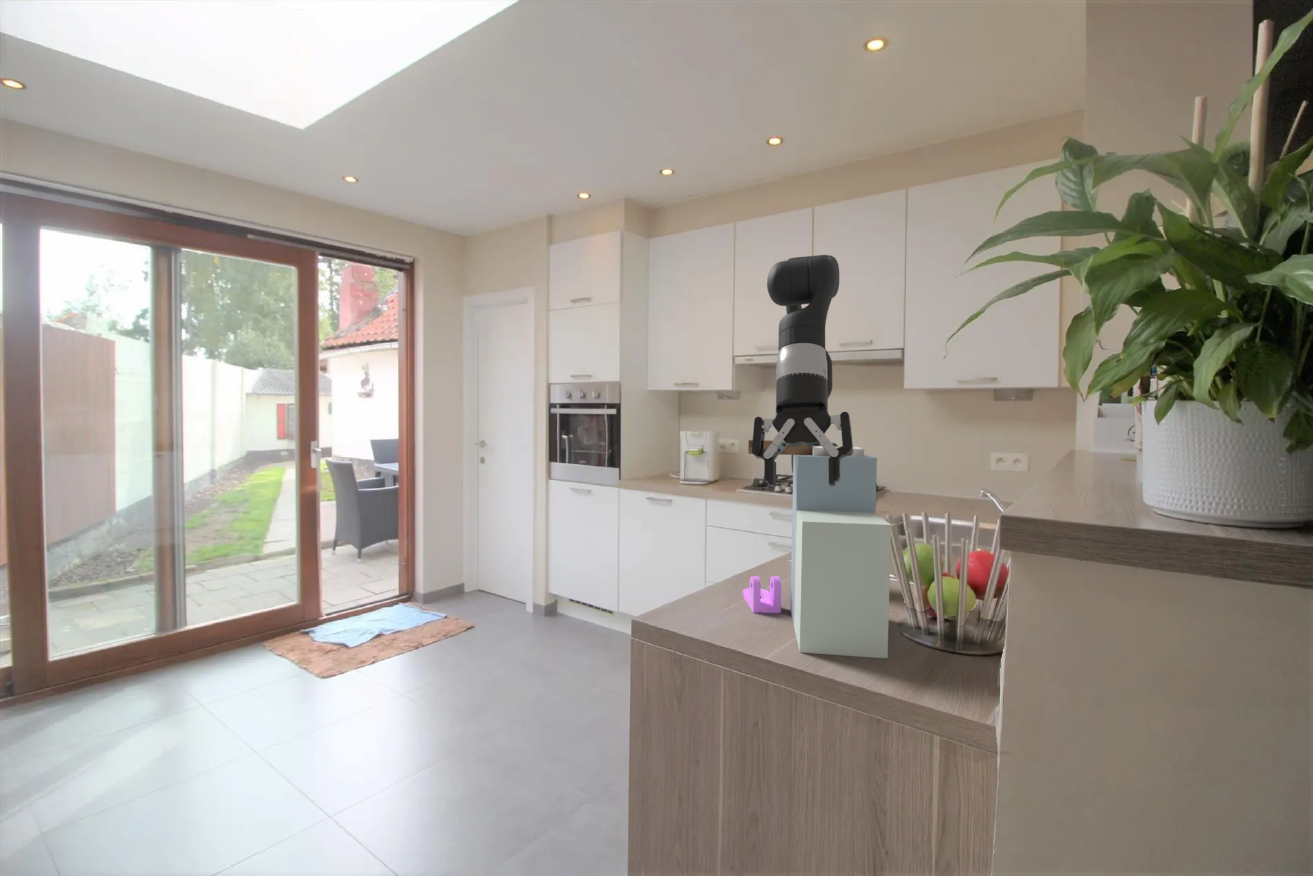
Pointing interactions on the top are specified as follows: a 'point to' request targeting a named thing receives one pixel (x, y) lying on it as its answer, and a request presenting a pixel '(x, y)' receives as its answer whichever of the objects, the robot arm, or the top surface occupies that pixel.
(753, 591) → the bracket
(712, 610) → the top surface
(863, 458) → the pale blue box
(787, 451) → the turner
